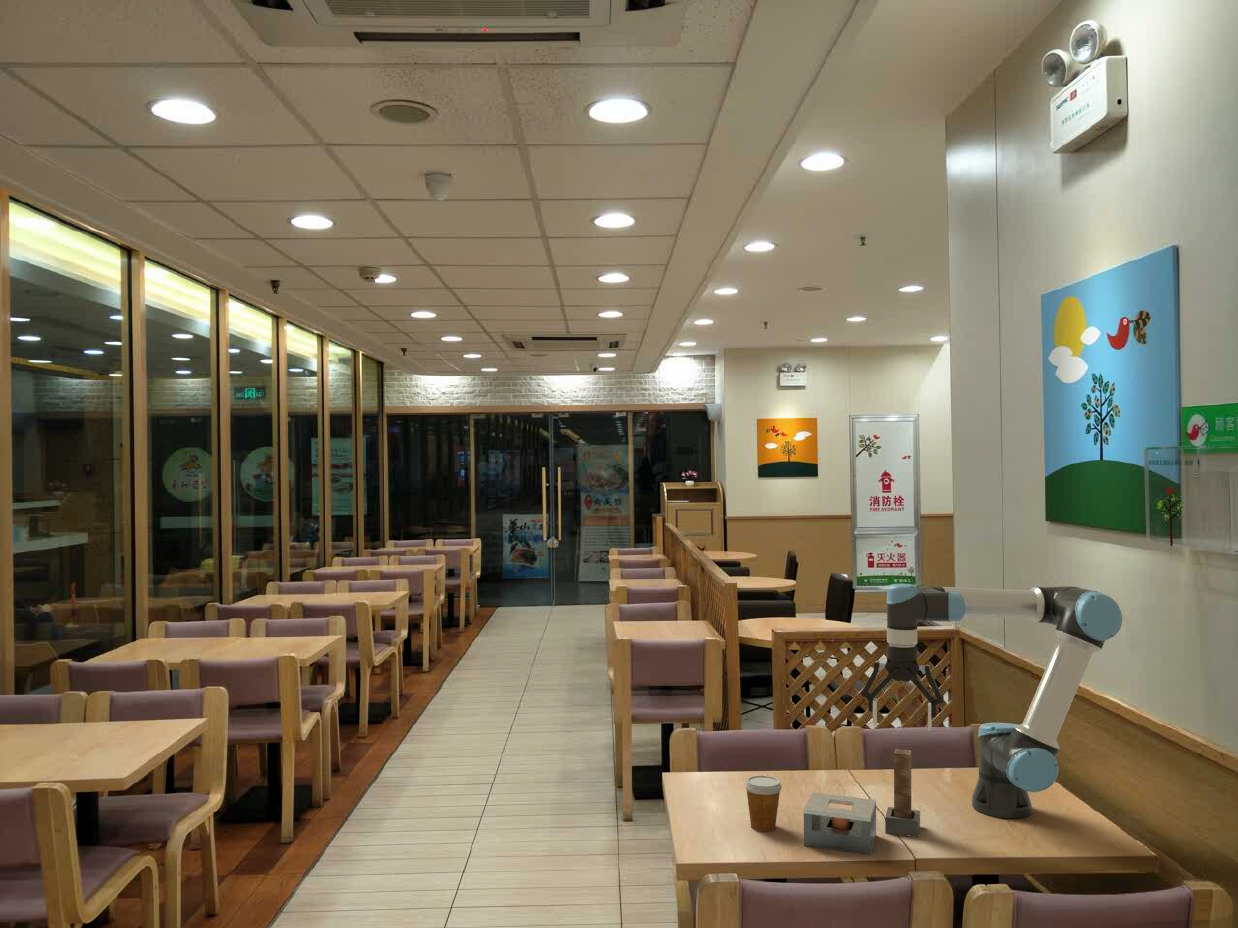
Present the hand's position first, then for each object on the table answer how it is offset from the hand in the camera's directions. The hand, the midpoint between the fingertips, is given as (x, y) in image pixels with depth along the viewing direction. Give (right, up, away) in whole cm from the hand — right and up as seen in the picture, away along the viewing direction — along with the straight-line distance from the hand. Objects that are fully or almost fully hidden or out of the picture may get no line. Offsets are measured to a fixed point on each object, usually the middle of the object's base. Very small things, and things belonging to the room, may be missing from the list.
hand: (902, 727), depth 244 cm
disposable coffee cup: (-35, -27, +2) cm, 44 cm away
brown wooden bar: (0, -26, 0) cm, 26 cm away
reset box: (-18, -26, -7) cm, 32 cm away
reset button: (-18, -23, -7) cm, 30 cm away
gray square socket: (0, -26, 0) cm, 26 cm away
